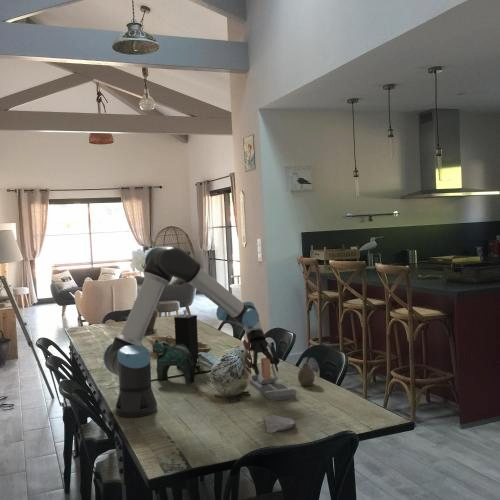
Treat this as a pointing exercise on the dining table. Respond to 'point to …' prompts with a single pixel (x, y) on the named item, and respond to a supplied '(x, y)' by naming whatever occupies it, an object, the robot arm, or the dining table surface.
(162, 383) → the dining table surface
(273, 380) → the fader knob
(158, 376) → the teal animal figurine
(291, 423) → the stone
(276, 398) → the console board
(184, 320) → the black rectangular column
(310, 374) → the vase
